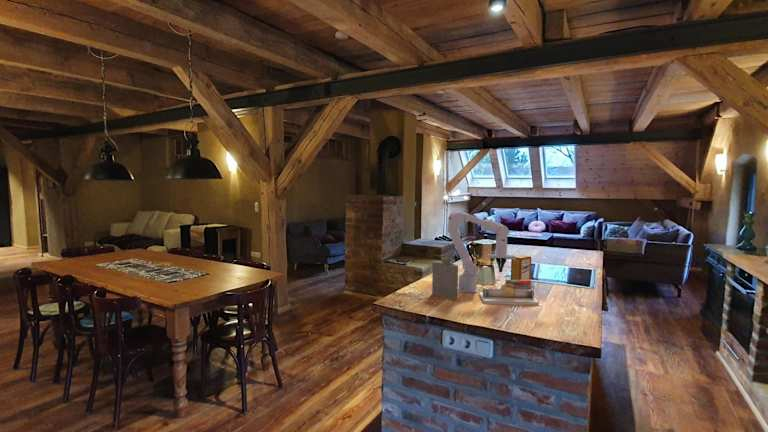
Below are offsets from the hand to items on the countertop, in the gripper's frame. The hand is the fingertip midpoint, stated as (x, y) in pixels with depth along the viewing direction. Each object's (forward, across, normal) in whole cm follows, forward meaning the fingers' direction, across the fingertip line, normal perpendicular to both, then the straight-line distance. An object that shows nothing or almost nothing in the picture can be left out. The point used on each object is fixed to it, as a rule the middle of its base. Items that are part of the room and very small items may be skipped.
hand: (500, 271), depth 209 cm
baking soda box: (+10, +13, +20) cm, 26 cm away
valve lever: (+2, +8, -15) cm, 17 cm away
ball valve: (+10, +3, -16) cm, 19 cm away
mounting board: (+10, +3, -16) cm, 19 cm away
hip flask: (+11, -28, -18) cm, 35 cm away
